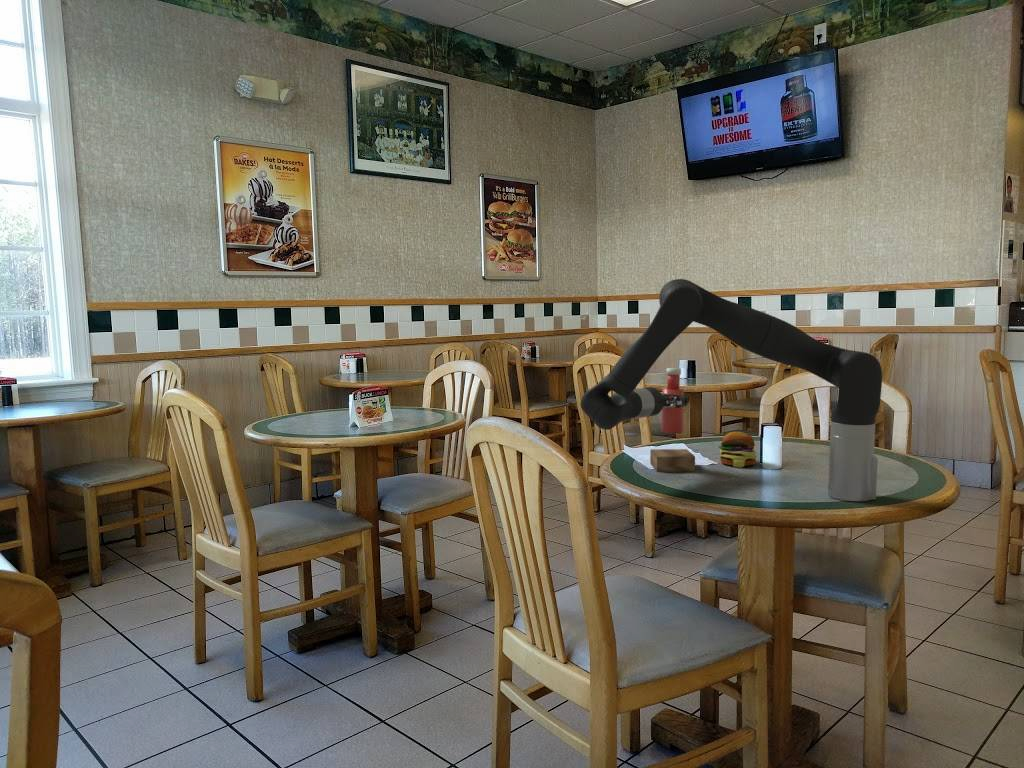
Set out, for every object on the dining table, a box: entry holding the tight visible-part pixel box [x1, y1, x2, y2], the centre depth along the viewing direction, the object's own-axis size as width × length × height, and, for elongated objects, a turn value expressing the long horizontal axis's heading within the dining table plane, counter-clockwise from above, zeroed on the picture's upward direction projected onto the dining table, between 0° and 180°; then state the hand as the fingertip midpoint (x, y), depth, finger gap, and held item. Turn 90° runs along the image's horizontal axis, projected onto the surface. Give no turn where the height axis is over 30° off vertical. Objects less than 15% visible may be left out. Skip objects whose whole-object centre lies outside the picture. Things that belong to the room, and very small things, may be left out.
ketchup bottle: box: [661, 367, 685, 434], centre depth 202 cm, size 6×6×17 cm
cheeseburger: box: [718, 431, 757, 469], centre depth 208 cm, size 10×11×10 cm
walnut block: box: [649, 448, 696, 473], centre depth 204 cm, size 10×10×4 cm
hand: (677, 397), depth 204 cm, fingers closed on ketchup bottle, 5 cm apart
